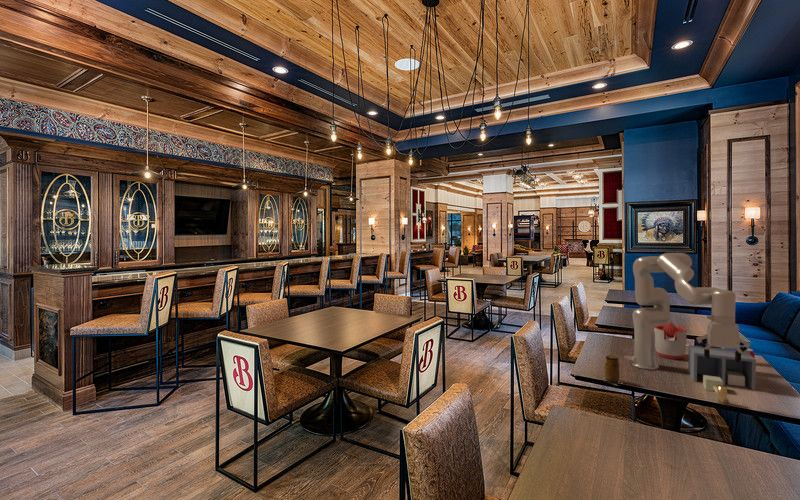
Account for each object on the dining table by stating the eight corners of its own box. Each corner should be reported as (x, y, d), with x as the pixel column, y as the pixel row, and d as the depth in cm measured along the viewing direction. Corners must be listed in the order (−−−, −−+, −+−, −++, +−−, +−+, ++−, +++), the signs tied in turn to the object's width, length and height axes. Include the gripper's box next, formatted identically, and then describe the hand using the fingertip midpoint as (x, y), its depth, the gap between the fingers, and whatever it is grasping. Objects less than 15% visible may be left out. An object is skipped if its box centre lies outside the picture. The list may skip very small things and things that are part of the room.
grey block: (727, 385, 176) (728, 374, 176) (724, 380, 181) (724, 370, 181) (744, 387, 173) (745, 376, 173) (740, 382, 178) (741, 372, 178)
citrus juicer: (653, 358, 213) (653, 324, 213) (653, 350, 228) (654, 318, 227) (687, 363, 205) (688, 327, 204) (685, 355, 219) (686, 321, 218)
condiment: (611, 377, 187) (611, 353, 186) (626, 383, 179) (626, 359, 178) (600, 379, 184) (600, 355, 184) (615, 386, 176) (615, 361, 176)
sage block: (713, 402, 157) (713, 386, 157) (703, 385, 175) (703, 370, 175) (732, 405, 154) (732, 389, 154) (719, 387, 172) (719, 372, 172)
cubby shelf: (693, 381, 180) (694, 352, 179) (688, 372, 192) (688, 345, 191) (755, 390, 169) (755, 359, 168) (745, 379, 181) (746, 351, 181)
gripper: (698, 319, 157) (697, 359, 158) (753, 323, 148) (752, 366, 149) (695, 316, 164) (694, 354, 164) (747, 319, 155) (746, 360, 156)
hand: (722, 359), depth 157 cm, fingers open, 9 cm apart
